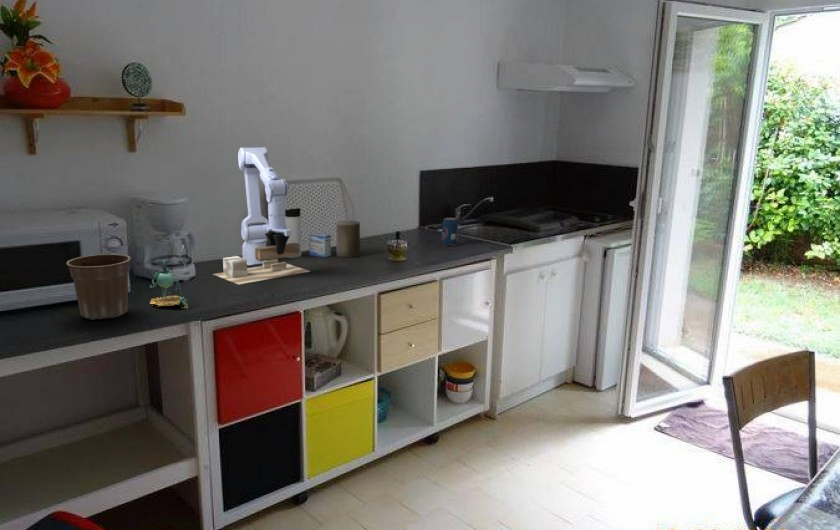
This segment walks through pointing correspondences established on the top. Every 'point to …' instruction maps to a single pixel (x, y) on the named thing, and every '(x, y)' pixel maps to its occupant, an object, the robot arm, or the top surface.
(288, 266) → the slat board
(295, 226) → the travel mug
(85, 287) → the plant pot
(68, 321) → the top surface
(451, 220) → the soda can
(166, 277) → the frog figurine
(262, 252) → the slat
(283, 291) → the top surface
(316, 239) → the medicine box
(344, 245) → the pillar candle
